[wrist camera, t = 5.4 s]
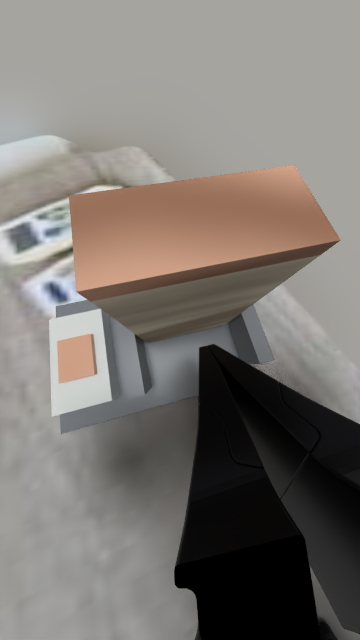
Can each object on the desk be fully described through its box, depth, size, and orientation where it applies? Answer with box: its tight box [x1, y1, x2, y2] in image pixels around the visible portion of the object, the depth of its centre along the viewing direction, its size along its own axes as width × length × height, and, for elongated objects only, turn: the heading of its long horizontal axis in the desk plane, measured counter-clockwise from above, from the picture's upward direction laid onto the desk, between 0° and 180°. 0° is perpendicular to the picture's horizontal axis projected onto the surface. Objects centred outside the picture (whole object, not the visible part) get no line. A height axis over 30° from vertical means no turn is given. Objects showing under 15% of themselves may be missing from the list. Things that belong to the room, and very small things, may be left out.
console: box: [49, 300, 275, 434], centre depth 12 cm, size 10×16×5 cm, turn 104°
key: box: [69, 165, 340, 343], centre depth 9 cm, size 3×7×10 cm, turn 104°
